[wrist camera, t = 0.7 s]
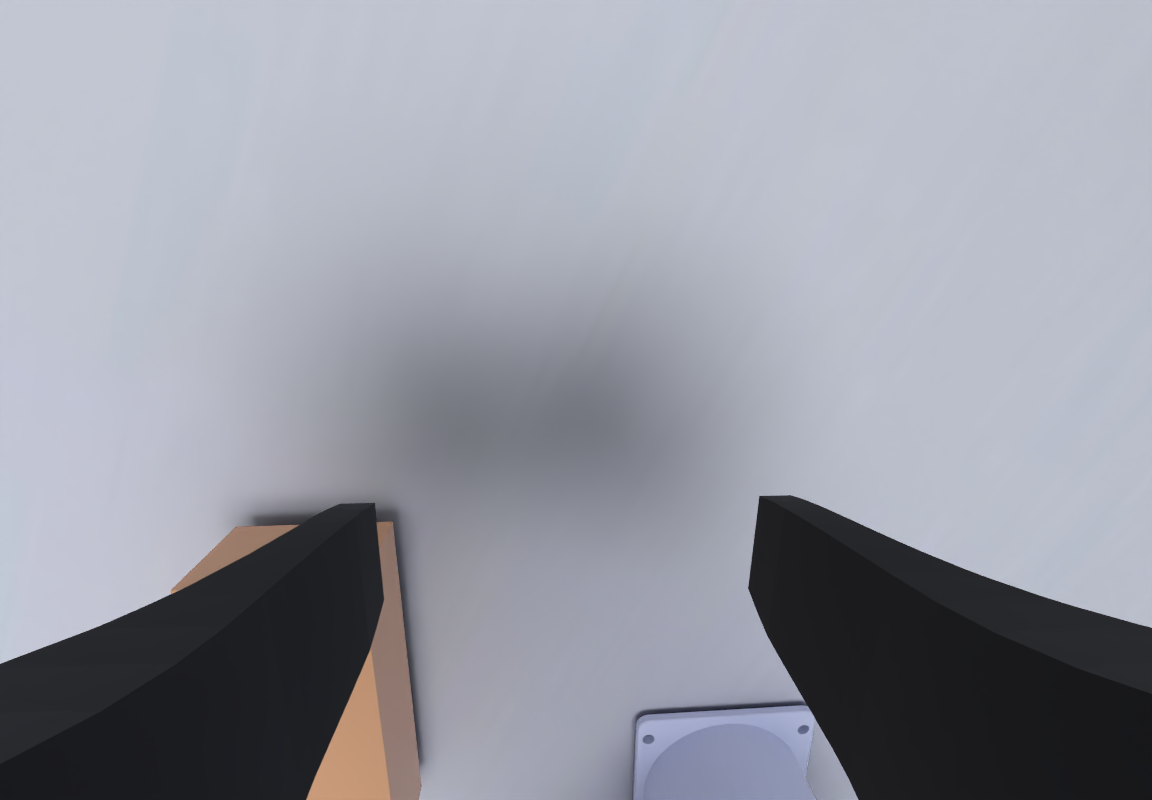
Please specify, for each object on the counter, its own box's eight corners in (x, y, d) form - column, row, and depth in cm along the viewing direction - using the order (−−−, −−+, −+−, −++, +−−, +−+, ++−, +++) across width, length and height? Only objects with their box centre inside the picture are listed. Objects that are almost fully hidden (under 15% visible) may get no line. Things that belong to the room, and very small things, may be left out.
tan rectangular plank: (421, 786, 23) (401, 882, 20) (290, 794, 23) (246, 894, 19) (392, 521, 20) (362, 582, 16) (235, 526, 19) (170, 590, 16)
